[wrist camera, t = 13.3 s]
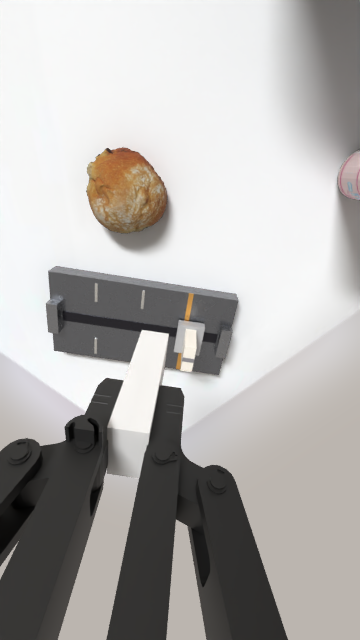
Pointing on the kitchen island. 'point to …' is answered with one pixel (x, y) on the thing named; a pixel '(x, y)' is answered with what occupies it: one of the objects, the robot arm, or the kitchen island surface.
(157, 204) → the bread roll
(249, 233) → the kitchen island surface
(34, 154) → the kitchen island surface
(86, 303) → the console
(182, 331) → the fader
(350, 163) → the beverage can
